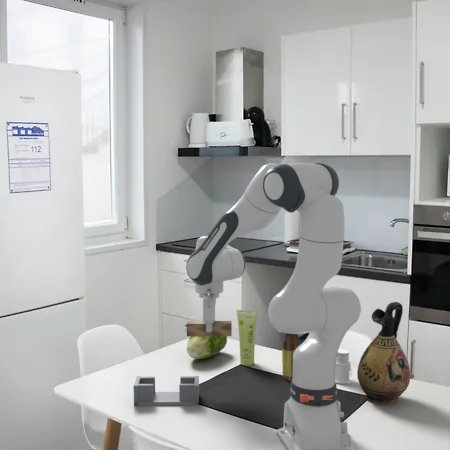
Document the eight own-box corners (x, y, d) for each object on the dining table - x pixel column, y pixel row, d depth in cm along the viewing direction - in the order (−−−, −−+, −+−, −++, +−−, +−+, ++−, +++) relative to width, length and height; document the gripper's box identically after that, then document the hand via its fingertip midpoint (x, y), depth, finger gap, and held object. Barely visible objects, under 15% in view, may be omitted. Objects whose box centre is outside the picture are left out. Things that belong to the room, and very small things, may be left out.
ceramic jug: (388, 414, 175) (392, 311, 172) (346, 398, 187) (348, 301, 184) (422, 399, 186) (426, 302, 183) (380, 385, 198) (383, 294, 195)
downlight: (334, 385, 197) (336, 355, 197) (324, 378, 204) (326, 348, 203) (356, 383, 200) (358, 353, 199) (345, 376, 207) (347, 347, 206)
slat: (231, 333, 195) (231, 320, 195) (231, 336, 192) (231, 323, 191) (187, 333, 195) (187, 320, 194) (186, 336, 191) (186, 323, 191)
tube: (243, 367, 215) (243, 312, 212) (236, 362, 219) (236, 309, 217) (256, 364, 217) (257, 310, 215) (249, 360, 222) (250, 307, 220)
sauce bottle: (301, 375, 206) (302, 317, 204) (301, 382, 200) (302, 322, 198) (281, 374, 207) (282, 317, 205) (281, 381, 201) (282, 322, 199)
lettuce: (177, 364, 218) (177, 333, 216) (202, 347, 237) (202, 319, 235) (207, 368, 213) (207, 336, 212) (229, 351, 232) (229, 322, 231)
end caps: (198, 394, 189) (198, 376, 188) (198, 405, 181) (198, 385, 180) (137, 395, 189) (136, 376, 188) (133, 405, 181) (133, 385, 180)
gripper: (219, 293, 181) (219, 338, 183) (219, 280, 202) (219, 321, 203) (198, 293, 181) (198, 338, 183) (199, 280, 202) (200, 321, 203)
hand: (209, 329), depth 193 cm, fingers closed on slat, 3 cm apart
